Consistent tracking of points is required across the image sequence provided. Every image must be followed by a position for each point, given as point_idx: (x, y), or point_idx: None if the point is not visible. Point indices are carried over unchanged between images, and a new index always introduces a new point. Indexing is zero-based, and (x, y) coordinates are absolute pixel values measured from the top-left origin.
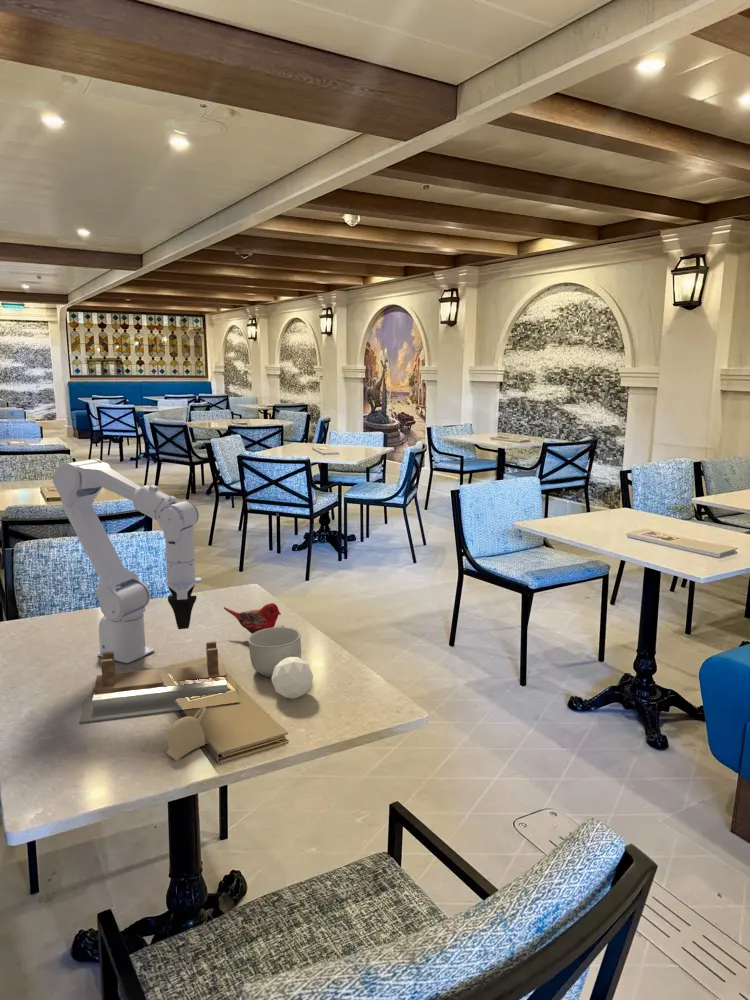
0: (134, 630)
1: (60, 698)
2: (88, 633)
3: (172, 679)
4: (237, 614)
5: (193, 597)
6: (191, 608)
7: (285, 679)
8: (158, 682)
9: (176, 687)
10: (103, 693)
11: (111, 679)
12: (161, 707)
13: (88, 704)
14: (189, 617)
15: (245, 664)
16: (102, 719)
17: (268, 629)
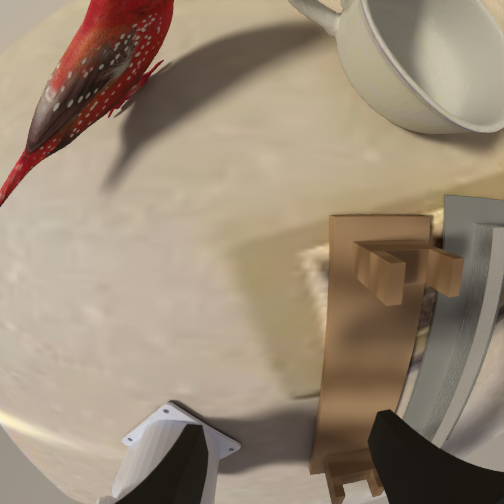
0: (204, 489)
1: (356, 482)
2: (82, 462)
3: (401, 357)
4: (30, 157)
5: (502, 502)
6: (468, 465)
7: None
8: (402, 382)
9: (479, 341)
10: None
11: None
12: None
13: None
14: (424, 440)
15: (331, 142)
16: (458, 418)
17: (370, 13)
